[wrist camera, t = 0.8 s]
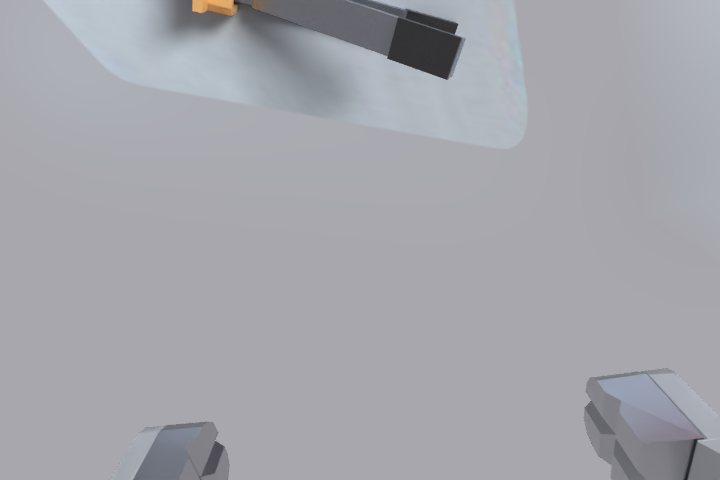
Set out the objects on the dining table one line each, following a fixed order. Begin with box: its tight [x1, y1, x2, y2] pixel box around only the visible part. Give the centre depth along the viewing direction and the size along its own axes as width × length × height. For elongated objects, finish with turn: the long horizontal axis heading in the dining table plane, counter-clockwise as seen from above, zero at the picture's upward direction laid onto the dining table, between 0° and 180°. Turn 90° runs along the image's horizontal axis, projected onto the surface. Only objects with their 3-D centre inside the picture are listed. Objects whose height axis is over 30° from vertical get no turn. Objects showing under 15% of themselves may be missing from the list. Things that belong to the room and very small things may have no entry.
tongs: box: [234, 0, 458, 35], centre depth 40 cm, size 28×3×1 cm, turn 76°
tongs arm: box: [252, 0, 466, 80], centre depth 35 cm, size 20×3×2 cm
